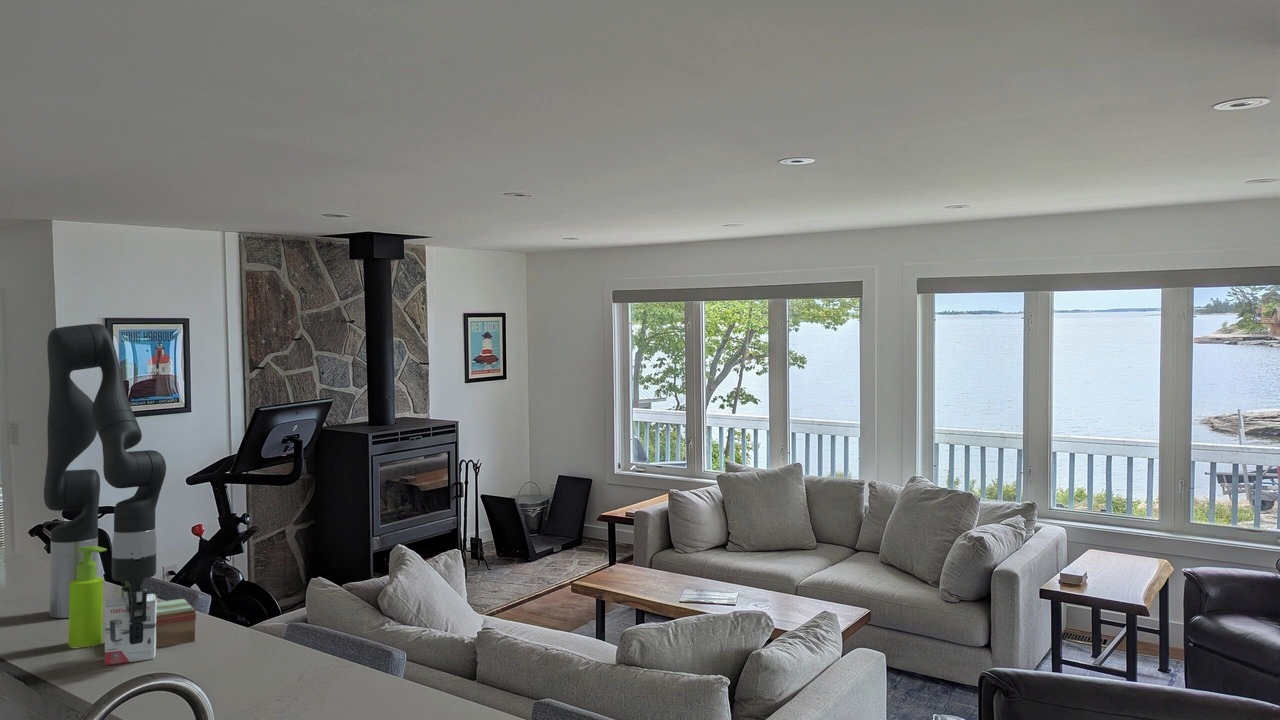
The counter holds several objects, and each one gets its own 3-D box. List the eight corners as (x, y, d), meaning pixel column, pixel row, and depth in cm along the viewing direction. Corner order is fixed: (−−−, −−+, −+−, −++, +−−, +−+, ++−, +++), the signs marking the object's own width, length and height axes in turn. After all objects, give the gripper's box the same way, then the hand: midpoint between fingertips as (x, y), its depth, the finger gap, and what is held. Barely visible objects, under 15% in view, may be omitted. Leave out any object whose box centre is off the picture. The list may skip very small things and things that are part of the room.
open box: (121, 640, 180) (122, 606, 180) (185, 629, 187) (185, 597, 188) (129, 653, 172) (129, 617, 172) (195, 641, 179) (195, 608, 179)
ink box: (103, 666, 164) (104, 604, 164) (105, 658, 168) (106, 597, 168) (155, 659, 168) (156, 598, 168) (156, 652, 172) (157, 592, 173)
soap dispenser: (90, 649, 174) (91, 550, 174) (61, 647, 175) (63, 548, 175) (113, 641, 179) (115, 544, 180) (85, 638, 181) (86, 543, 181)
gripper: (107, 550, 172) (106, 634, 171) (117, 561, 160) (115, 651, 160) (150, 545, 176) (149, 627, 176) (162, 556, 165) (161, 644, 164)
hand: (133, 638), depth 168 cm, fingers open, 6 cm apart
